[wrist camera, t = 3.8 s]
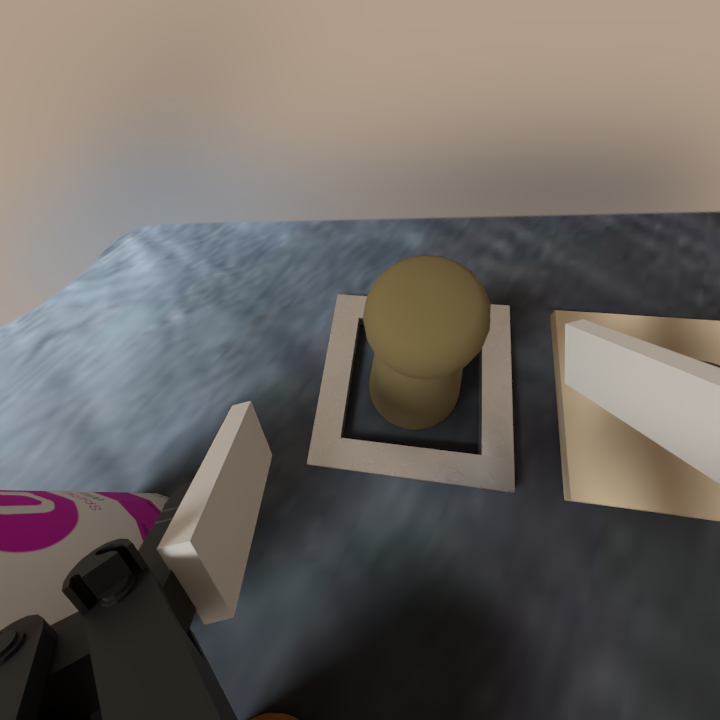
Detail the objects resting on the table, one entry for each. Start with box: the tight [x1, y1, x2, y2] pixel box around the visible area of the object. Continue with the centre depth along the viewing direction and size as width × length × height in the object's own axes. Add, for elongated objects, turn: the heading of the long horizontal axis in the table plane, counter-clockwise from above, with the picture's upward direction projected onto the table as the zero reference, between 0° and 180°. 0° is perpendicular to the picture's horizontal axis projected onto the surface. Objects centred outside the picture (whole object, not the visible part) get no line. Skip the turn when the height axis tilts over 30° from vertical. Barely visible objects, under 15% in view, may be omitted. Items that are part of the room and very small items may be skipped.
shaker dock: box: [307, 294, 515, 493], centre depth 22 cm, size 12×12×1 cm
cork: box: [363, 255, 491, 430], centre depth 18 cm, size 6×6×11 cm
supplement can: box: [0, 490, 169, 630], centre depth 13 cm, size 8×8×15 cm
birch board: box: [550, 310, 720, 521], centre depth 20 cm, size 12×12×1 cm
